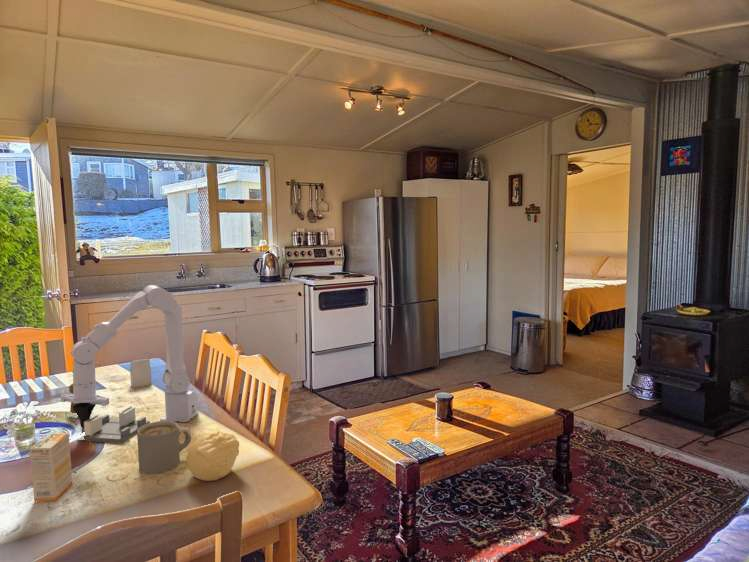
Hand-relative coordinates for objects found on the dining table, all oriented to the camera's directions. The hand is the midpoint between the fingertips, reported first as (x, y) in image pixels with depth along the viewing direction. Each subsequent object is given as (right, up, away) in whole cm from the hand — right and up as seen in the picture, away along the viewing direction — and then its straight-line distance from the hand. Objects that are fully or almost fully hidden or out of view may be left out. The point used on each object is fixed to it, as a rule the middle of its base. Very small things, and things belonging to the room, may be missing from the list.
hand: (85, 426), depth 150 cm
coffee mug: (+31, -5, -16) cm, 35 cm away
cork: (-12, -1, +17) cm, 21 cm away
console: (+7, -3, +3) cm, 8 cm away
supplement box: (+10, -7, -31) cm, 34 cm away
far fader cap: (+9, -1, +7) cm, 12 cm away
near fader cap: (+2, -2, 0) cm, 3 cm away
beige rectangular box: (-6, +2, +49) cm, 49 cm away
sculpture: (+45, -6, -22) cm, 51 cm away
